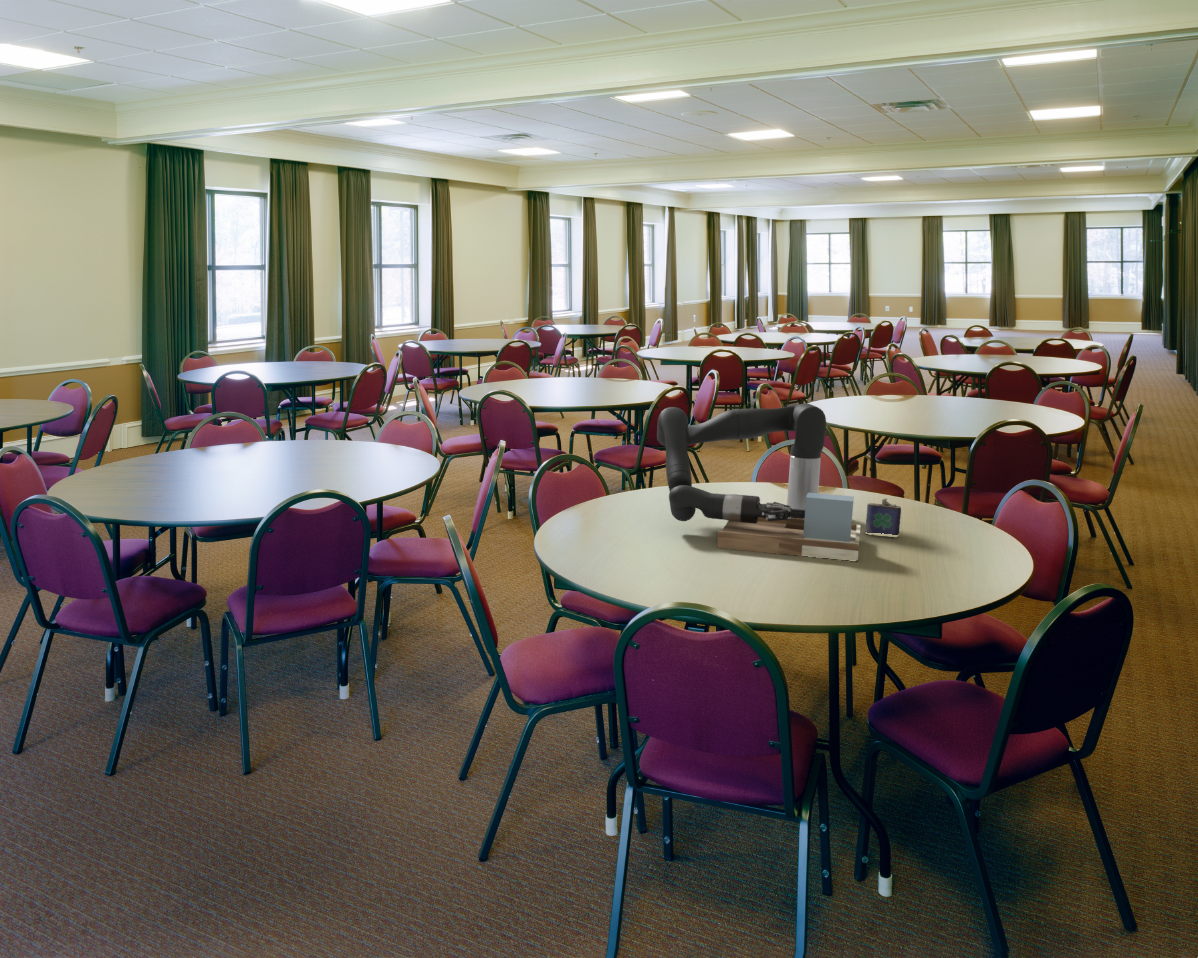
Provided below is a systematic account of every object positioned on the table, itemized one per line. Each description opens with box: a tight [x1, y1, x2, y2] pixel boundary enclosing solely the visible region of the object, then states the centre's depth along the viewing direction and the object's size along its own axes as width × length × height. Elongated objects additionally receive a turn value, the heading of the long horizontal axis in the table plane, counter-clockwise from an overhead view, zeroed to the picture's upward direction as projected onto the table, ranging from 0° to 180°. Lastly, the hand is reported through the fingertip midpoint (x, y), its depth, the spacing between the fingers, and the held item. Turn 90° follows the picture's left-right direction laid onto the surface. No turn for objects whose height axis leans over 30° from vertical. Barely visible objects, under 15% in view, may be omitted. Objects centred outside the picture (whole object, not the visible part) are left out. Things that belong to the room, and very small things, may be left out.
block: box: [803, 492, 855, 542], centre depth 237 cm, size 6×12×11 cm, turn 73°
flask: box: [864, 498, 902, 535], centre depth 251 cm, size 9×3×11 cm, turn 65°
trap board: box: [716, 517, 861, 560], centre depth 241 cm, size 22×36×4 cm, turn 73°
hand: (805, 514), depth 239 cm, fingers closed
